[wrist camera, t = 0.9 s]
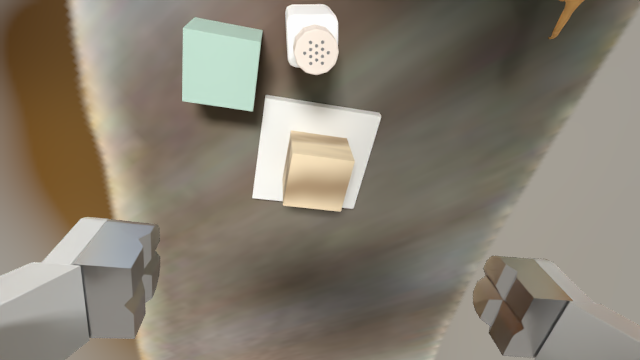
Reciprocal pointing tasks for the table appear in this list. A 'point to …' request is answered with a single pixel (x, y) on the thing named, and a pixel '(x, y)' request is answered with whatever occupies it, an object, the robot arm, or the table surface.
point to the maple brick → (316, 171)
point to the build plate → (316, 120)
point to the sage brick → (220, 64)
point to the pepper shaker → (311, 37)
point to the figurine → (565, 15)
